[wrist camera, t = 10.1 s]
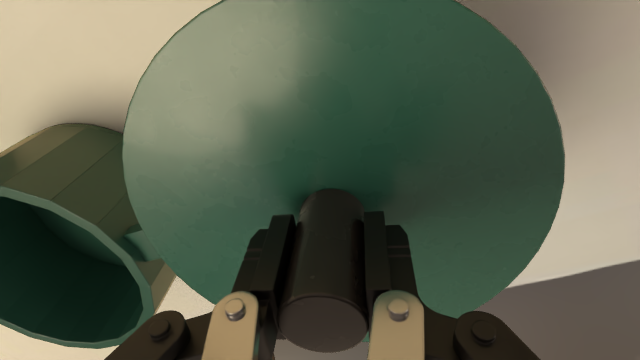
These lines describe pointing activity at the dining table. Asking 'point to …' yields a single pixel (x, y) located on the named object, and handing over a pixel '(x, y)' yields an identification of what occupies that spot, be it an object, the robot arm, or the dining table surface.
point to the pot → (74, 241)
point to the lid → (344, 152)
